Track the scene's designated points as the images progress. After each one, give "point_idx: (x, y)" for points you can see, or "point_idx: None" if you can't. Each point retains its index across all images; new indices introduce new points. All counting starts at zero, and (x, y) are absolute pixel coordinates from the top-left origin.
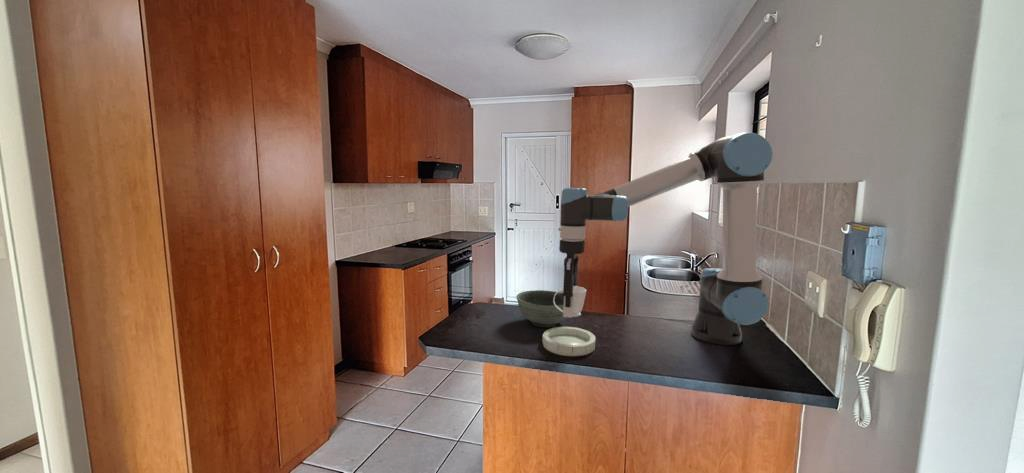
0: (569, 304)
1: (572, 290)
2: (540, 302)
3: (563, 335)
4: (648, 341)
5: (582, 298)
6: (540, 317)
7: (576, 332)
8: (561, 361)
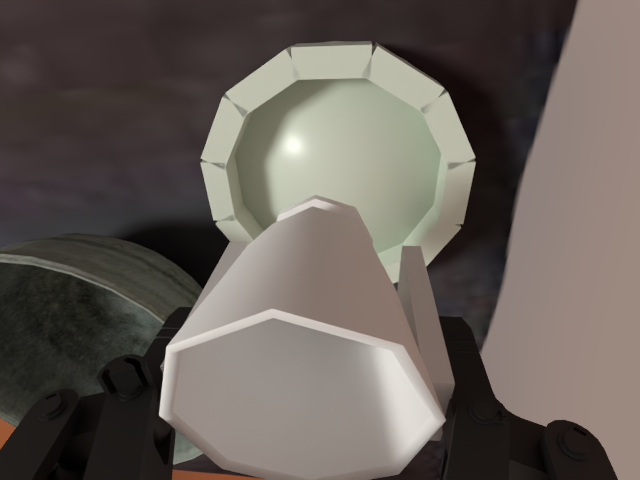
0: (473, 343)
1: (501, 471)
2: (42, 357)
3: (264, 212)
4: None
5: (361, 278)
6: None
7: (231, 163)
8: (518, 180)
